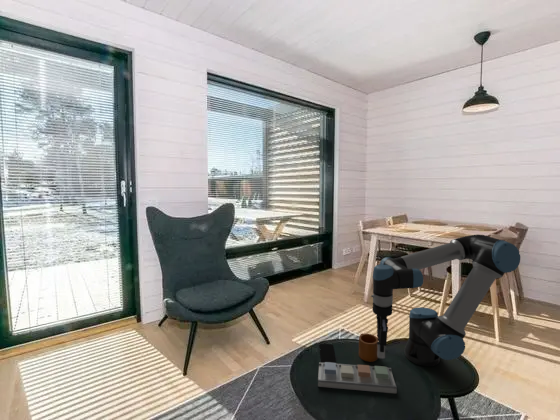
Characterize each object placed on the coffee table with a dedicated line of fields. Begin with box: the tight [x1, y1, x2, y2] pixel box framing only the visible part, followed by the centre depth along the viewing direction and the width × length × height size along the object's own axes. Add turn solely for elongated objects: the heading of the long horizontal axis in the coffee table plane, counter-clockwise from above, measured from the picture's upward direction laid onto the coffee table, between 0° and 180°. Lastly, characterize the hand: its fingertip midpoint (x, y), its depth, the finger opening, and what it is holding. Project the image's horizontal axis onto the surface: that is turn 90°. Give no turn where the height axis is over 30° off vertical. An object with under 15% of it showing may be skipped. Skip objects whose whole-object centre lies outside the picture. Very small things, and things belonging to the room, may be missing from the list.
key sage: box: [374, 365, 388, 379], centre depth 127 cm, size 5×5×2 cm
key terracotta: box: [357, 364, 371, 377], centre depth 128 cm, size 5×5×2 cm
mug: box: [358, 333, 379, 363], centre depth 146 cm, size 9×12×9 cm
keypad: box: [317, 361, 398, 394], centre depth 129 cm, size 31×12×3 cm, turn 80°
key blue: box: [324, 362, 337, 374], centre depth 131 cm, size 5×5×2 cm
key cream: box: [341, 365, 353, 378], centre depth 130 cm, size 5×5×2 cm
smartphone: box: [318, 343, 337, 364], centre depth 148 cm, size 7×1×15 cm
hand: (381, 357), depth 126 cm, fingers closed
